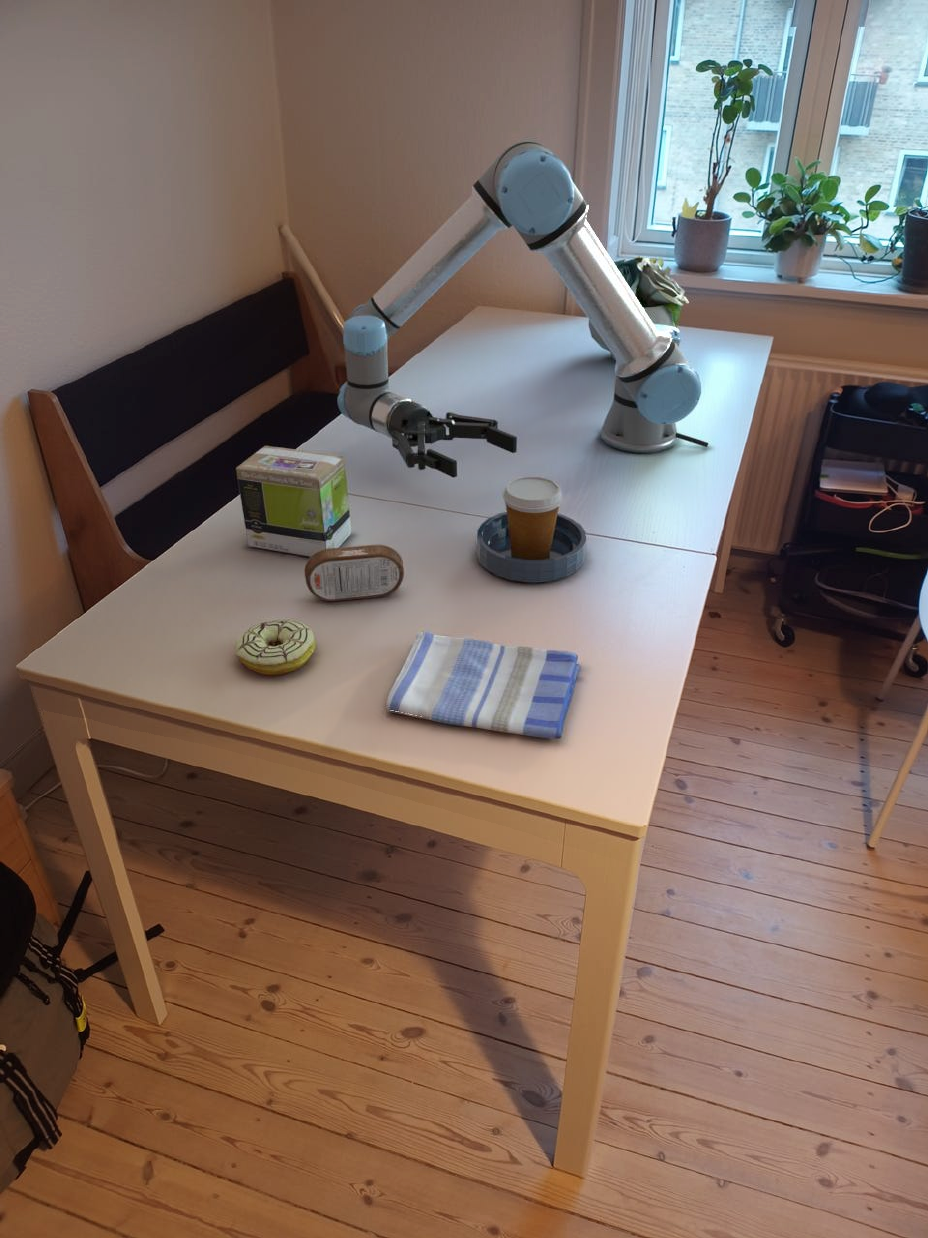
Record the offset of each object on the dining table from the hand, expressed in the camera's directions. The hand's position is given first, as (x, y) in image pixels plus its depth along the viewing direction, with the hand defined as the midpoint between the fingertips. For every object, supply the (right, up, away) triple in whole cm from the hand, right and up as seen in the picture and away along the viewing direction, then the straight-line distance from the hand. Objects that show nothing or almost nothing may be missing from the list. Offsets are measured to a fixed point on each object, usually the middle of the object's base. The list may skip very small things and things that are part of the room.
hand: (486, 457), depth 154 cm
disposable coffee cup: (+7, -16, 0) cm, 18 cm away
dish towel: (-1, -36, -28) cm, 46 cm away
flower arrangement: (+38, +39, +82) cm, 98 cm away
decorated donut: (-30, -32, -22) cm, 49 cm away
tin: (-20, -23, -9) cm, 32 cm away
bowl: (+7, -16, +1) cm, 18 cm away
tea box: (-31, -13, +6) cm, 35 cm away
